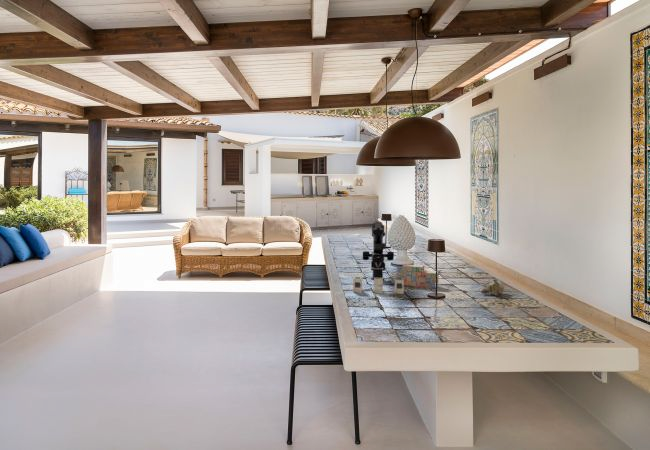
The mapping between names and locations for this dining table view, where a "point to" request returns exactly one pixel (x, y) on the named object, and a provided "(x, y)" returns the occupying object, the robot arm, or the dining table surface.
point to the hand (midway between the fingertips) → (378, 267)
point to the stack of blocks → (418, 276)
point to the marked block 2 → (399, 286)
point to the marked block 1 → (357, 284)
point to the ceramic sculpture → (494, 288)
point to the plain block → (378, 285)
